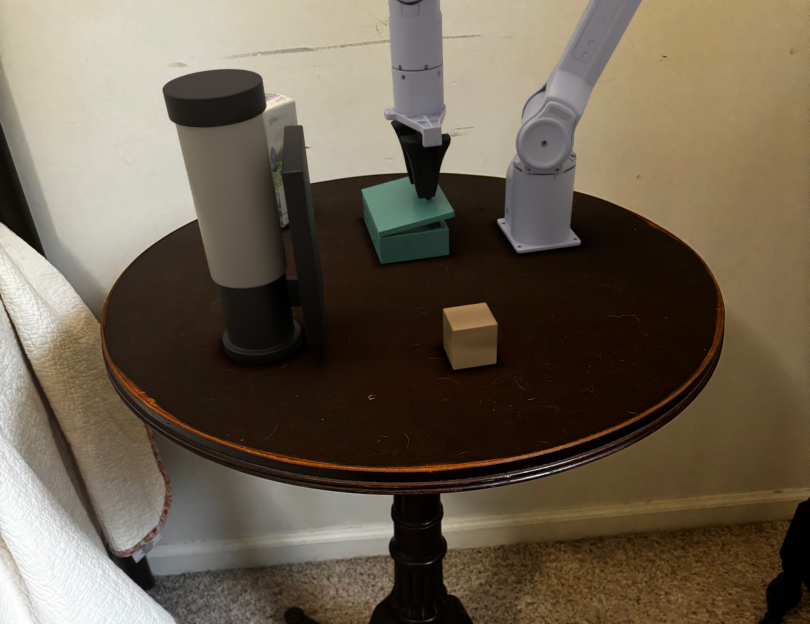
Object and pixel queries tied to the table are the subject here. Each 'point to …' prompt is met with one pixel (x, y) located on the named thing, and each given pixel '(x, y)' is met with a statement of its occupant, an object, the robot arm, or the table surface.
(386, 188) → the lid
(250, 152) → the light fixture
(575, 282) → the table surface
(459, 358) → the block
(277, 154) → the syrup box
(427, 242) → the teal box base
